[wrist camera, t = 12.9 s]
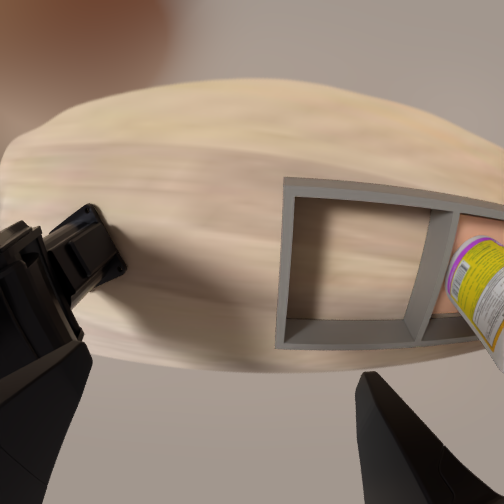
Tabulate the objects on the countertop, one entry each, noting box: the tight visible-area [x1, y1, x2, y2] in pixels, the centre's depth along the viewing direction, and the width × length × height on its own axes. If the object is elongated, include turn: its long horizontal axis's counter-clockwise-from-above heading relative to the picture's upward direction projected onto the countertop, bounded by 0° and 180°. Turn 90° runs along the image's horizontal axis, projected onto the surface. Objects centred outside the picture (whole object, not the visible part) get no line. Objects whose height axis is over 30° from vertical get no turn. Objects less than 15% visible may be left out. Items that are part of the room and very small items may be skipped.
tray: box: [275, 177, 504, 350], centre depth 17 cm, size 24×12×5 cm, turn 89°
